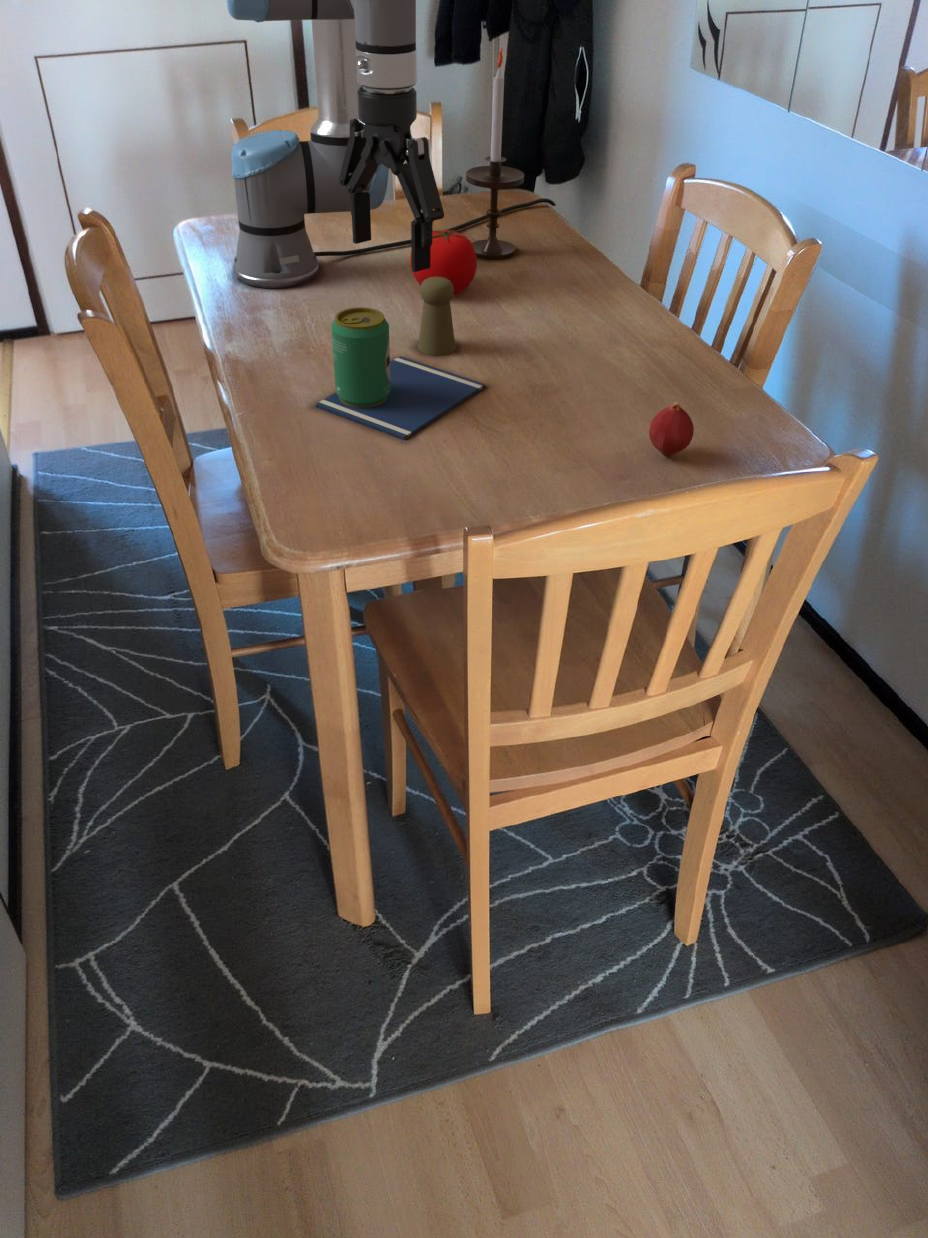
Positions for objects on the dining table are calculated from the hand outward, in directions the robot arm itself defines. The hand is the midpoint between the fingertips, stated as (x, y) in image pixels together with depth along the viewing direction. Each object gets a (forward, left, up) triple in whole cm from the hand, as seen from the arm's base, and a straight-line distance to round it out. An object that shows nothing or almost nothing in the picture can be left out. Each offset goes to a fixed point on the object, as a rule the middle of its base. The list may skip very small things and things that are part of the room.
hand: (390, 255), depth 139 cm
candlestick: (-55, -18, -19) cm, 60 cm away
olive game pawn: (-13, -1, -19) cm, 23 cm away
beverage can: (+8, +1, -18) cm, 20 cm away
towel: (+4, +5, -19) cm, 20 cm away
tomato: (-33, -14, -19) cm, 40 cm away
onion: (-4, +44, -19) cm, 48 cm away
